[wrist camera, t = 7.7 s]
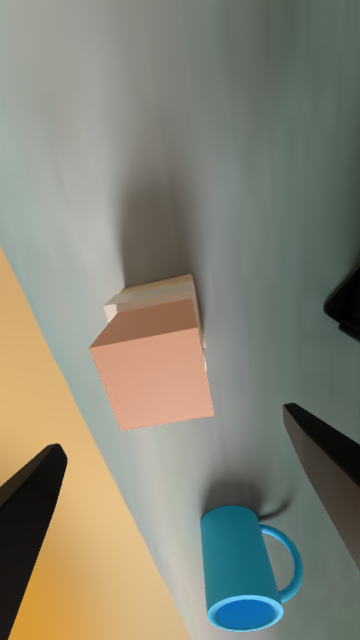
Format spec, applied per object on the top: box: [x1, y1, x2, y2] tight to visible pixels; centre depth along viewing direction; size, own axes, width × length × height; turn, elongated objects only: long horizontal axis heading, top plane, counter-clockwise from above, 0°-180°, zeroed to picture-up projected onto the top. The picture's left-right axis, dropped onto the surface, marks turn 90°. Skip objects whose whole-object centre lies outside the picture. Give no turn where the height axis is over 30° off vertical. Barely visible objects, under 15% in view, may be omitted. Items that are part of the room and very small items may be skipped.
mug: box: [201, 506, 303, 632], centre depth 28 cm, size 12×8×8 cm
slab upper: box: [104, 282, 207, 370], centre depth 17 cm, size 6×6×3 cm
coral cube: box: [89, 298, 214, 431], centre depth 13 cm, size 5×5×5 cm
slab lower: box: [119, 273, 207, 348], centre depth 20 cm, size 6×6×3 cm
